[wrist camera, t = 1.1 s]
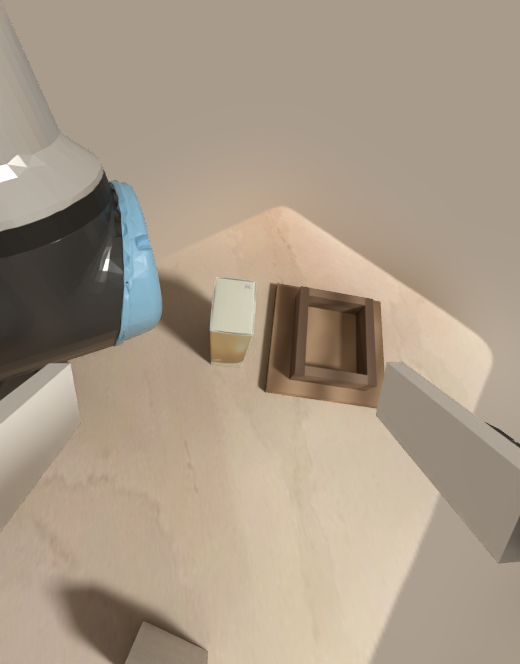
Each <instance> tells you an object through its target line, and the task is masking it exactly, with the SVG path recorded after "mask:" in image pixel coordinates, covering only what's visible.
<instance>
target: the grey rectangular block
mask: <svg viewBox="0 0 520 664" xmlns="http://www.w3.org/2000/svg"><path fill="white" fill-rule="evenodd" d="M207 659H208V651H206V650H204V649H202V648H200V647H198V646H196V645H194V644H191V643H189V642H187V641H185V640H183V639H181V638H179V637H177V636H175V635H173V634H170V633H168V632H166V631H164V630H162V629H160V628H158V627H156V626H154V625H152V624H150V623H147V622H145V621H143V623H142V625H141V627H140V629H139V632H138V634H137V636H136V639H135V641H134V643H133V645H132V648H131V650H130V652H129V655H128V657H127V659H126V661H125V664H207Z"/></svg>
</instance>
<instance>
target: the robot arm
mask: <svg viewBox="0 0 520 664" xmlns="http://www.w3.org/2000/svg"><path fill="white" fill-rule="evenodd" d="M161 315H162V296H161V289H160V283H159V278H158V272H157V267H156V263H155V259H154V255H153V251H152V248H151V246H150V245H149V237H148V233H147V227H146V223H145V219H144V216H143V213H142V210H141V207H140V204H139V201H138V198H137V196H136V194H135V192H134V190H133V188H132V187H131V186H130V185H129V184H127V183H123V182H122V183H120V182H118V181H116V180H114V181H109V182H108V179H107V177H106V174H105V172H104V169H103V166H102V163H101V161H100V159H99V158H98V157H97V155H96V154H95V153H93V152H92V151H90V150H88V149H86V148H85V147H83V146H82V145H80V144H79V143H77V142H76V141H74V140H72V139H71V138H69V137H68V136H66V135H64V134H63V133H62V132H61V130H60V129H59V128H58V126H57V124H56V121H55V119H54V117H53V115H52V112H51V110H50V108H49V106H48V103H47V101H46V99H45V97H44V95H43V92H42V90H41V88H40V86H39V84H38V81H37V79H36V77H35V74H34V72H33V70H32V68H31V65H30V63H29V61H28V59H27V57H26V54H25V52H24V50H23V48H22V45H21V43H20V41H19V39H18V36H17V34H16V32H15V30H14V28H13V25H12V23H11V21H10V19H9V16H8V14H7V12H6V9H5V7H4V5H3V3H2V1H1V0H0V532H1V531H2V529H3V528H4V527H5V525H6V524H7V523H8V521H9V520H10V518H11V517H12V516H13V514H14V513H15V512H16V510H17V509H18V508H19V506H20V505H21V504H22V502H23V501H24V500H25V498H26V497H27V495H28V494H29V493H30V491H31V490H32V489H33V487H34V486H35V485H36V483H37V482H38V481H39V479H40V478H41V476H42V475H43V474H44V472H45V471H46V470H47V468H48V467H49V466H50V464H51V463H52V462H53V460H54V459H55V458H56V456H57V455H58V453H59V452H60V451H61V449H62V448H63V447H64V445H65V444H66V443H67V441H68V440H69V439H70V437H71V436H72V434H73V433H74V432H75V430H76V429H77V428H78V426H79V425H80V424H81V422H80V416H79V410H78V404H77V398H76V393H75V387H74V381H73V375H72V369H71V364H70V363H68V362H67V360H70V359H73V358H77V357H80V356H83V355H86V354H89V353H92V352H95V351H99V350H102V349H105V348H108V347H111V346H117V345H120V344H121V343H122V342H123V341H125V340H127V339H130V338H132V337H135V336H138V335H140V334H143V333H145V332H148V331H150V330H151V329H153V328H154V327H155V326H156V325H157V324H158V322H159V321H160V319H161ZM376 416H377V417H378V418H379V419H380V421H381V422H382V423H383V424H384V426H385V427H386V428H387V429H388V430H389V432H390V433H391V434H392V435H393V436H394V438H395V439H396V440H397V441H398V442H399V444H400V445H401V446H402V447H403V449H404V450H405V451H406V452H407V453H408V455H409V456H410V457H411V458H412V459H413V461H414V462H415V463H416V464H417V466H418V467H419V468H420V469H421V470H422V472H423V473H424V474H425V475H426V476H427V478H428V479H429V480H430V481H431V483H432V484H433V485H434V486H435V487H436V489H437V490H438V491H439V492H440V493H441V495H442V496H443V497H444V498H445V500H446V501H447V502H448V503H449V504H450V506H451V507H452V508H453V509H454V510H455V512H456V513H457V514H458V515H459V516H460V518H461V519H462V520H463V521H464V522H465V524H466V525H467V526H468V527H469V528H470V530H471V531H472V532H473V533H474V535H475V536H476V537H477V538H478V540H479V541H480V542H481V543H482V544H483V546H484V547H485V548H486V549H487V550H488V552H489V553H490V554H491V555H492V557H493V558H494V559H495V560H496V561H497V563H498V564H499V563H507V562H508V563H509V562H519V561H520V444H519V443H516V442H515V441H514V439H512V438H511V437H509V436H508V435H506V434H505V433H504V432H502V431H501V430H499V429H498V428H496V427H494V426H492V425H489V424H488V423H486V422H484V421H482V420H481V419H479V418H478V417H477V416H475V415H474V414H473V413H471V412H470V411H469V410H467V409H466V408H465V407H463V406H462V405H460V404H459V403H458V402H456V401H455V400H454V399H452V398H451V397H450V396H448V395H447V394H446V393H444V392H443V391H441V390H440V389H439V388H437V387H436V386H435V385H433V384H432V383H431V382H429V381H428V380H426V379H425V378H424V377H422V376H421V375H420V374H418V373H417V372H416V371H414V370H413V369H412V368H410V367H409V366H407V365H406V364H405V363H403V362H387V364H386V369H385V374H384V379H383V383H382V388H381V393H380V398H379V403H378V408H377V412H376Z"/></svg>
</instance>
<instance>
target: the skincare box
mask: <svg viewBox="0 0 520 664" xmlns="http://www.w3.org/2000/svg"><path fill="white" fill-rule="evenodd" d="M255 302H256V281H249V280H242V279H233V278H222V277H216V279H215V285H214V291H213V298H212V307H211V319H210V354H211V364H212V365H221V366H231V367H242V366H243V363H244V360H245V357H246V354H247V351H248V349H249V346H250V343H251V340H252V337H253V334H254V320H255Z"/></svg>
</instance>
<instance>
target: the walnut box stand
mask: <svg viewBox="0 0 520 664" xmlns="http://www.w3.org/2000/svg"><path fill="white" fill-rule="evenodd" d="M383 379H384V357H383V339H382V322H381V305H380V302H379V301H373V299H369V298H363V297H358V296H352V295H347V294H341V293H336V292H330V291H324V290H319V289H313V288H308V287H302V286H301V287H295V286H290V285H284V284H279V283H278V284H277V287H276V295H275V304H274V314H273V323H272V332H271V341H270V351H269V360H268V369H267V378H266V388H265V392H268V393H275V394H282V395H289V396H296V397H303V398H309V399H316V400H323V401H330V402H337V403H344V404H351V405H357V406H364V407H371V408H378V403H379V398H380V393H381V388H382V383H383Z"/></svg>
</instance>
